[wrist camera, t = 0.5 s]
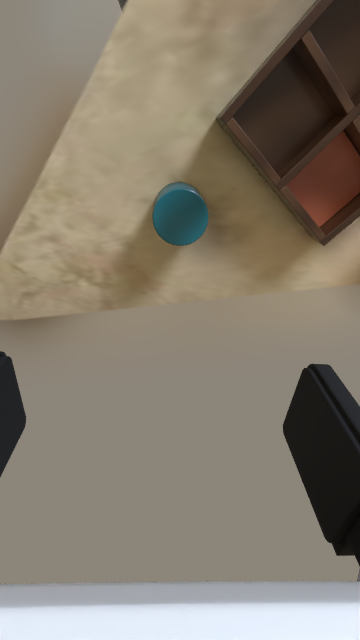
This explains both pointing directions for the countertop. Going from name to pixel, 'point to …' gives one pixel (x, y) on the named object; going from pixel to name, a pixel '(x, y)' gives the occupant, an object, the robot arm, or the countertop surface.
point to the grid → (307, 118)
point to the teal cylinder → (180, 214)
